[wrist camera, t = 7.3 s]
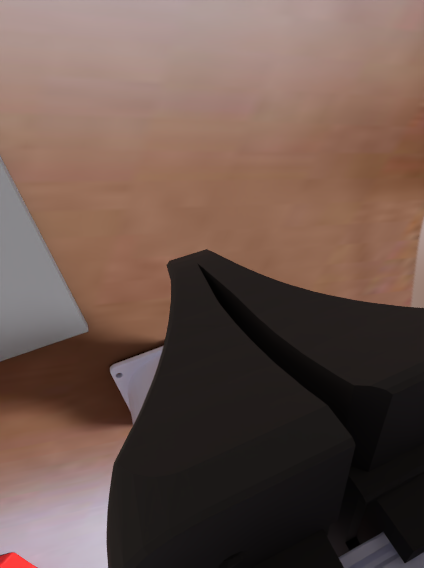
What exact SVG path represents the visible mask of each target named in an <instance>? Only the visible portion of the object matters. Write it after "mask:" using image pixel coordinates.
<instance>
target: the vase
mask: <svg viewBox="0 0 424 568" xmlns="http://www.w3.org/2000/svg"><path fill="white" fill-rule="evenodd" d="M0 568H37V567H35V566H34V565H32V564H31V563H29V562H28V561H26V560H25V559H23V558H22V557H20V556H19V555H17V554H16V553H8V554H5V555H2V556H0Z"/></svg>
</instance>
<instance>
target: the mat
mask: <svg viewBox="0 0 424 568" xmlns="http://www.w3.org/2000/svg"><path fill="white" fill-rule="evenodd" d="M85 332H88V325H87V323H86V321H85V319H84V317H83V315H82V313H81V311H80V309H79V307H78V305H77V303H76V302H75V300H74V298H73V296H72V294H71V292H70V290H69V288H68V286H67V284H66V282H65V280H64V278H63V276H62V274H61V272H60V271H59V269H58V267H57V265H56V263H55V261H54V259H53V257H52V255H51V253H50V251H49V249H48V247H47V245H46V243H45V242H44V240H43V238H42V236H41V234H40V232H39V230H38V228H37V226H36V224H35V222H34V220H33V218H32V216H31V214H30V212H29V211H28V209H27V207H26V205H25V203H24V201H23V199H22V197H21V195H20V193H19V191H18V189H17V187H16V185H15V183H14V182H13V180H12V178H11V176H10V174H9V172H8V170H7V168H6V166H5V164H4V162H3V160H2V158H1V156H0V361H3V360H6V359H9V358H12V357H15V356H18V355H21V354H24V353H27V352H29V351H32V350H35V349H38V348H41V347H44V346H47V345H50V344H53V343H56V342H59V341H62V340H65V339H68V338H71V337H74V336H76V335H79V334H82V333H85Z"/></svg>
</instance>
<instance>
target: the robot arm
mask: <svg viewBox="0 0 424 568" xmlns="http://www.w3.org/2000/svg"><path fill="white" fill-rule="evenodd" d="M167 268H168V272H169V275H170V279H171V306H170V315H169V322H168V328H167V333H166V338H165V342H164V346H162V347H159V348H156V349H154V350H151V351H148V352H145V353H143V354H140V355H137V356H135V357H132V358H129V359H126V360H124V361H121V362H118V363H115V364H113V365H112V366H111V367H110V373H111V375H112V377H113V379H114V381H115V383H116V385H117V387H118V389H119V391H120V392H121V394H122V396H123V398H124V400H125V402H126V404H127V406H128V408H129V410H130V412H131V416H132V422H133V427H132V429H131V431H130V433H129V435H128V437H127V439H126V441H125V443H124V445H123V447H122V449H121V450H120V452H119V454H118V456H117V458H116V460H115V462H114V466H113V472H112V479H111V486H110V493H109V503H108V515H107V556H108V568H424V308H414V307H402V306H394V305H385V304H377V303H370V302H363V301H357V300H351V299H346V298H341V297H336V296H331V295H326V294H322V293H317V292H313V291H310V290H306V289H303V288H299V287H295V286H292V285H289V284H286V283H283V282H280V281H277V280H274V279H272V278H269V277H266V276H264V275H261V274H259V273H256V272H254V271H252V270H249V269H247V268H245V267H243V266H240V265H238V264H236V263H234V262H232V261H230V260H228V259H226V258H224V257H222V256H220V255H218V254H216V253H214V252H212V251H209V250H207V249H206V250H203V251H200V252H197V253H193V254H190V255H187V256H184V257H181V258H177V259H174V260H171V261H169V262H168V264H167ZM118 373H121V374H118Z"/></svg>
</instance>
